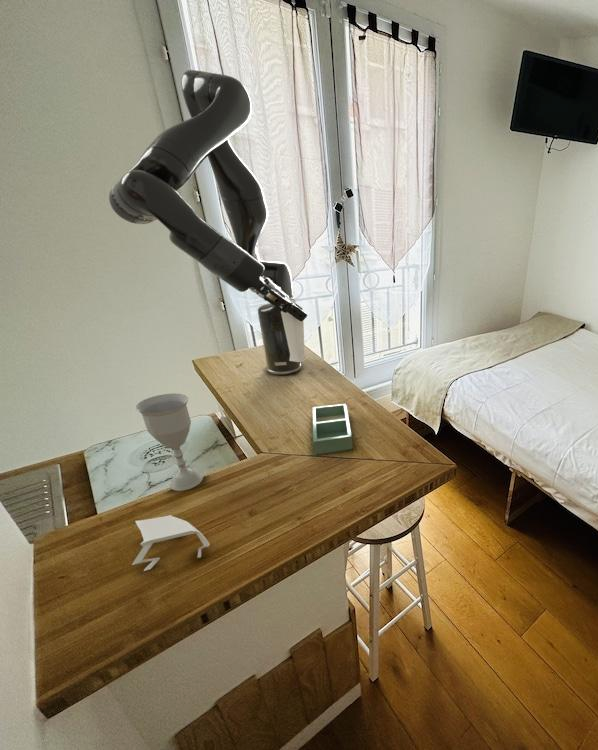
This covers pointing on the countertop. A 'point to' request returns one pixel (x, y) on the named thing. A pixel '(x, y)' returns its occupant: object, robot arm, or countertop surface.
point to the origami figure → (164, 535)
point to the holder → (331, 429)
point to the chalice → (171, 432)
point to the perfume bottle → (294, 335)
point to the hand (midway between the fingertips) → (301, 314)
